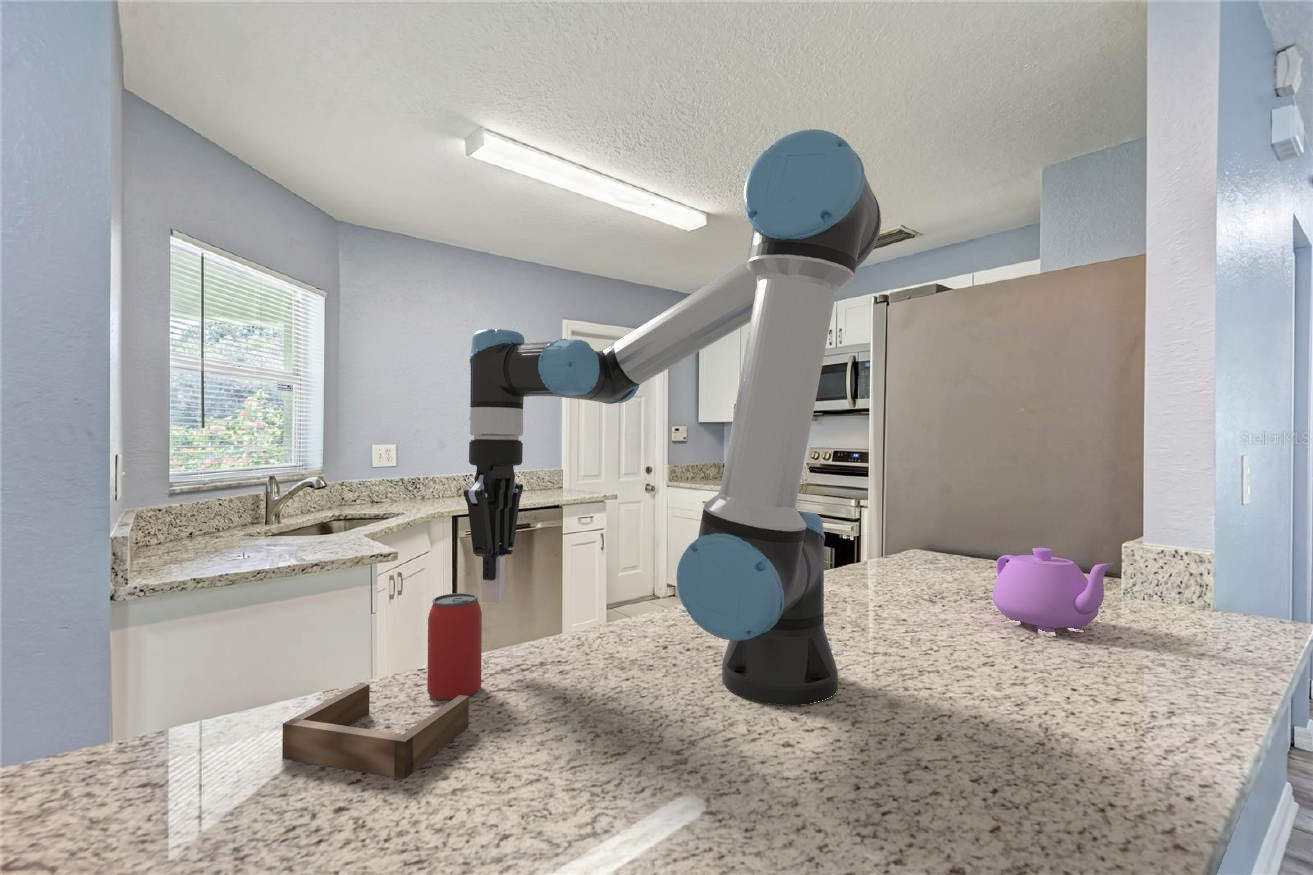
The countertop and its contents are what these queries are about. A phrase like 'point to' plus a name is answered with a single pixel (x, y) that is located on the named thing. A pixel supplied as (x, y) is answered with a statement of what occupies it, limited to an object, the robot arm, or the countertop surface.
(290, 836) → the countertop surface
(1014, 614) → the teapot
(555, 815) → the countertop surface
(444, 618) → the beer can
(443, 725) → the walnut bay
